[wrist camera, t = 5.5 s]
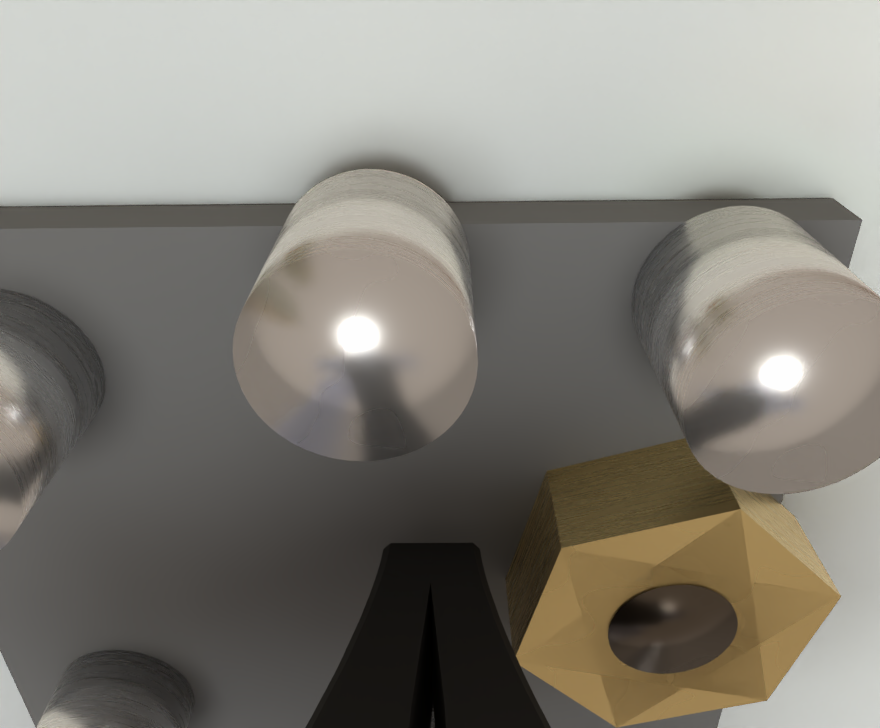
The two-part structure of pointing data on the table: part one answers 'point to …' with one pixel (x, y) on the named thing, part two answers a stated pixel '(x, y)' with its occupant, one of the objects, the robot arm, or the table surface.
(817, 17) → the table surface
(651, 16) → the table surface
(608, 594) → the nut
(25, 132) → the table surface
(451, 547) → the robot arm
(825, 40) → the table surface
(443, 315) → the spacers
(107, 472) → the mat
